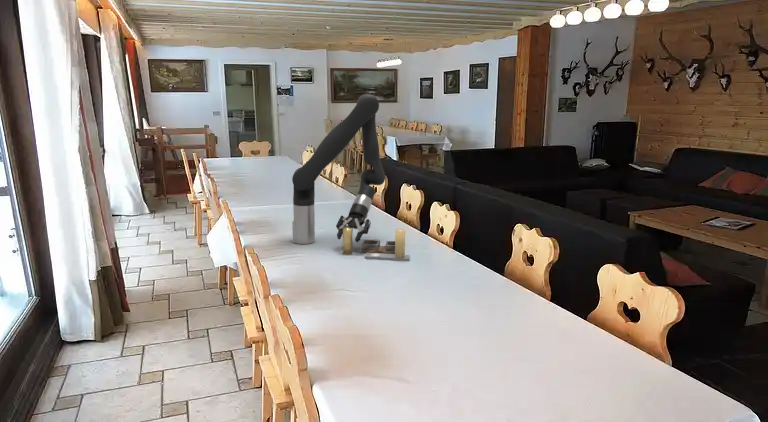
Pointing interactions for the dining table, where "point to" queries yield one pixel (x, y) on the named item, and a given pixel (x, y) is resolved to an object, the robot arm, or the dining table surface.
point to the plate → (387, 257)
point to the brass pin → (347, 240)
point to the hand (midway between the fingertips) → (347, 239)
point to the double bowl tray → (377, 247)
